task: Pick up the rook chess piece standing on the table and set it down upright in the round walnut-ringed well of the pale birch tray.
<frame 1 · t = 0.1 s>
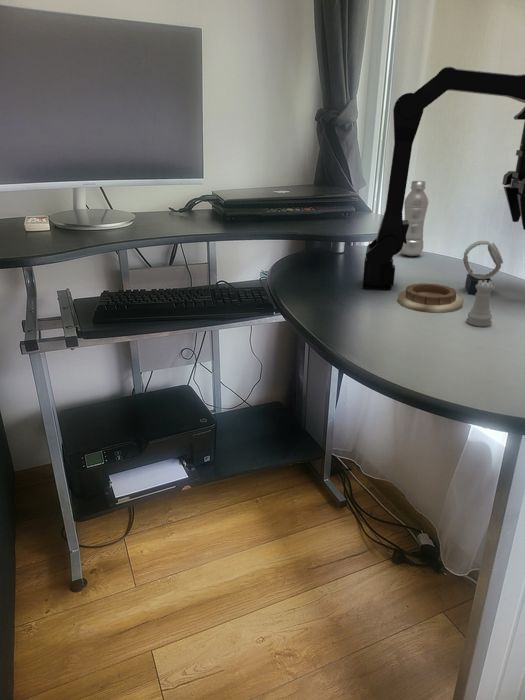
hand: (520, 225, 107), 15 cm above the table, fingers open, 9 cm apart
well tray: (429, 302, 107), on the table
rook chess piece: (478, 324, 96), on the table
plastic bottle: (410, 256, 145), on the table
watch: (477, 292, 114), on the table
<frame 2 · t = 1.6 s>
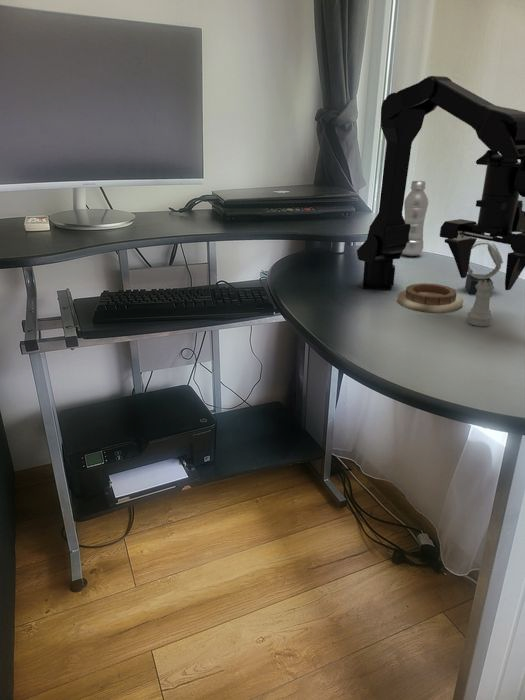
hand: (484, 283, 93), 8 cm above the table, fingers open, 9 cm apart
nothing on the table moved.
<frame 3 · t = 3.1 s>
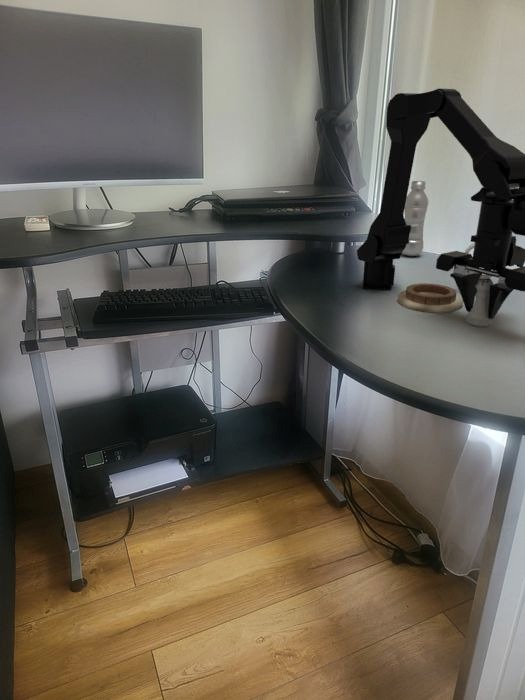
hand: (479, 314, 95), 2 cm above the table, fingers closed on rook chess piece, 4 cm apart
rook chess piece: (478, 324, 96), on the table, touching gripper
everything else where it was.
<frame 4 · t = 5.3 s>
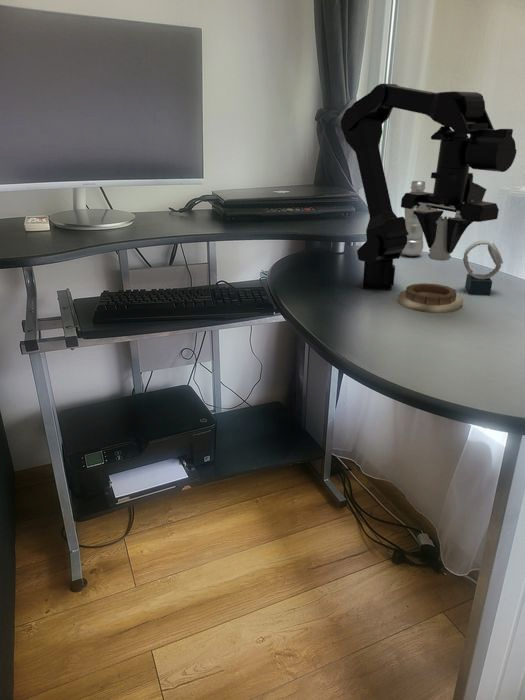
hand: (440, 250, 102), 11 cm above the table, fingers closed on rook chess piece, 4 cm apart
rook chess piece: (438, 259, 102), point 9 cm above the table, touching gripper
everything else where it was.
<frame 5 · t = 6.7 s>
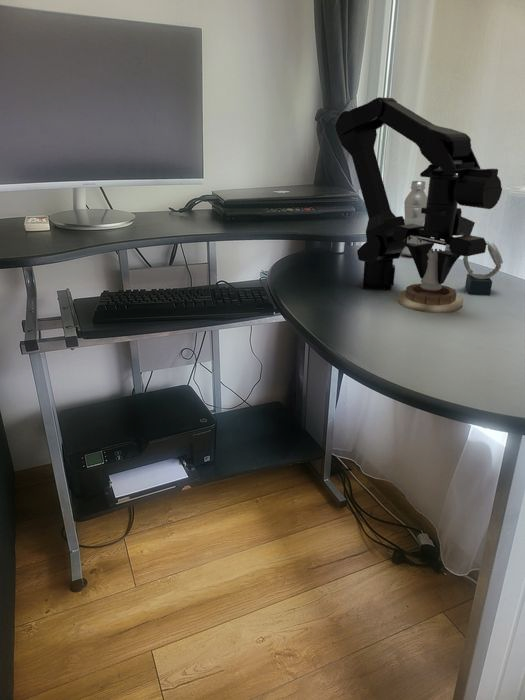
hand: (431, 280, 106), 5 cm above the table, fingers closed on rook chess piece, 4 cm apart
rook chess piece: (430, 289, 106), point 3 cm above the table, touching gripper
everything else where it was.
when the fingers open (4 cm above the table, at t = 7.7 s): rook chess piece stays where it is, resting on well tray.
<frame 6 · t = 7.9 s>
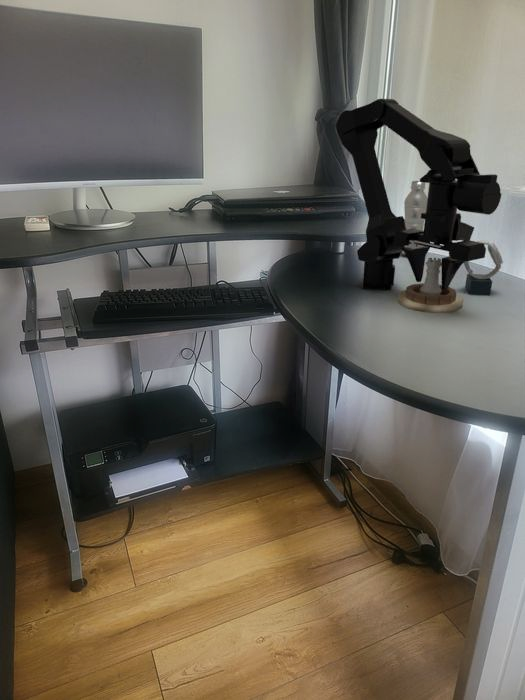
hand: (431, 285, 106), 4 cm above the table, fingers open, 6 cm apart
rook chess piece: (429, 297, 107), point 1 cm above the table, touching well tray
everything else where it was.
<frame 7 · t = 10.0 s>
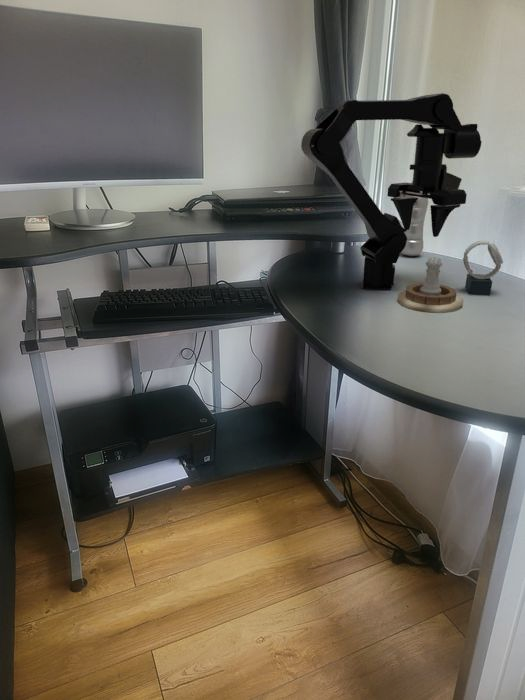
hand: (420, 233, 115), 12 cm above the table, fingers open, 9 cm apart
nothing on the table moved.
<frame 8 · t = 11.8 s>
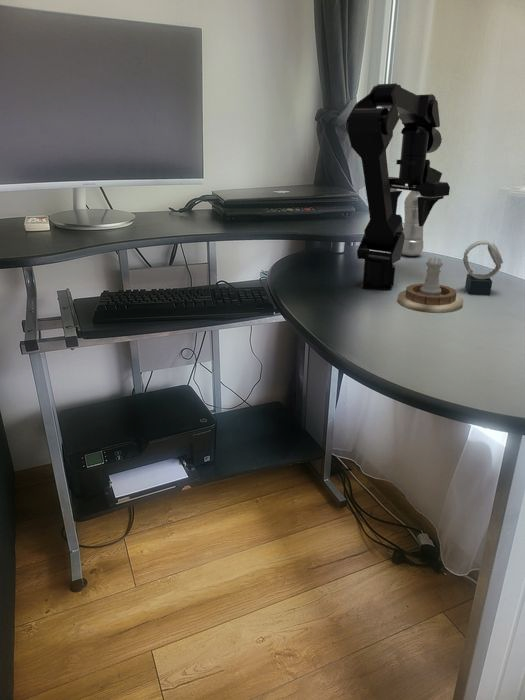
hand: (406, 223, 125), 12 cm above the table, fingers open, 9 cm apart
nothing on the table moved.
at the end: rook chess piece 0.0 cm off-centre on the well tray, point 0.9 cm above the well tray's base; rook chess piece tilted 0°; the gripper is holding nothing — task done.
